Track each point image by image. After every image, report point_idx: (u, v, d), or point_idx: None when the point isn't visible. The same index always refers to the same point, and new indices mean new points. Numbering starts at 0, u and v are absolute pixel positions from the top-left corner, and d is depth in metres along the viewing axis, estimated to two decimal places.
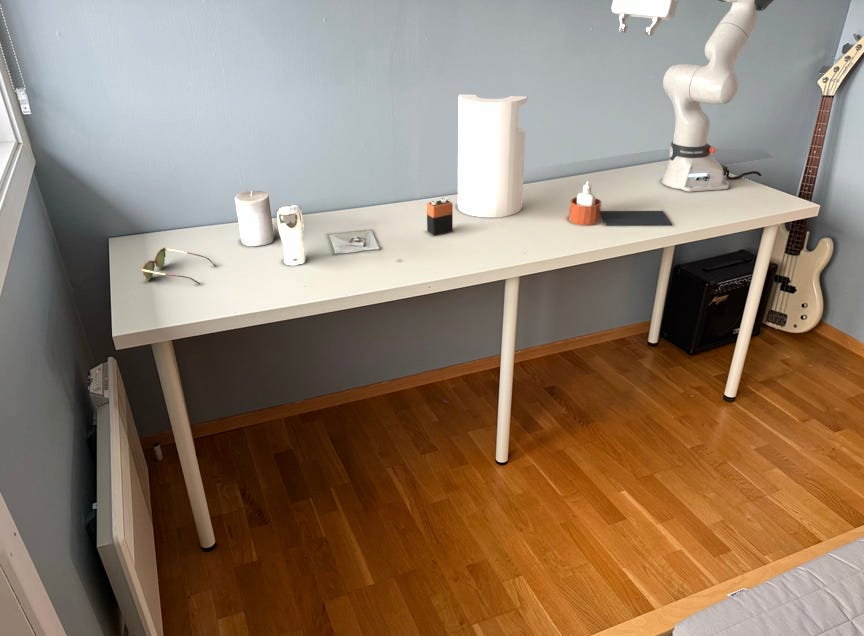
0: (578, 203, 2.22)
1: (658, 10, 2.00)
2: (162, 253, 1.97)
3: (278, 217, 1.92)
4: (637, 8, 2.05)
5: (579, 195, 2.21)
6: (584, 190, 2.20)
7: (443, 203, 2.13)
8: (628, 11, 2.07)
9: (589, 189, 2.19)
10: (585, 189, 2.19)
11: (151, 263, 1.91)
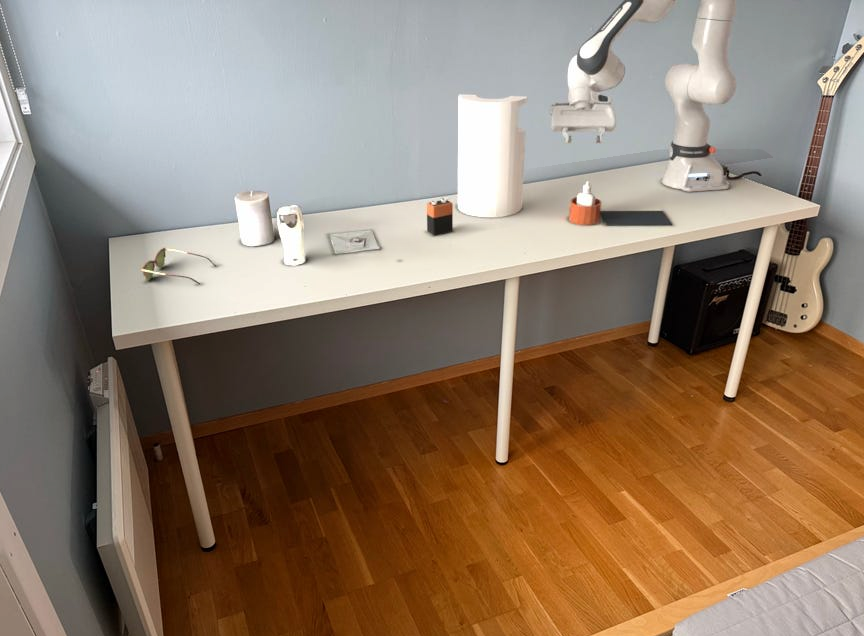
0: (578, 203, 2.22)
1: None
2: (162, 253, 1.97)
3: (278, 217, 1.92)
4: None
5: (579, 195, 2.21)
6: (584, 190, 2.20)
7: (443, 203, 2.13)
8: None
9: (589, 189, 2.19)
10: (585, 189, 2.19)
11: (151, 263, 1.91)
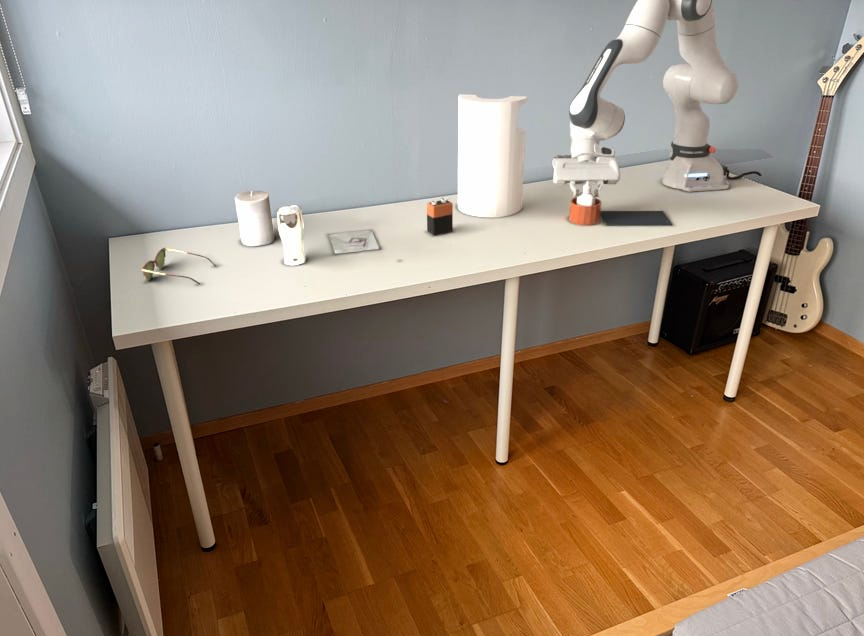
0: (578, 203, 2.22)
1: None
2: (162, 253, 1.97)
3: (278, 217, 1.92)
4: None
5: (579, 195, 2.21)
6: (584, 190, 2.20)
7: (443, 203, 2.13)
8: None
9: (589, 189, 2.19)
10: (585, 189, 2.19)
11: (151, 263, 1.91)
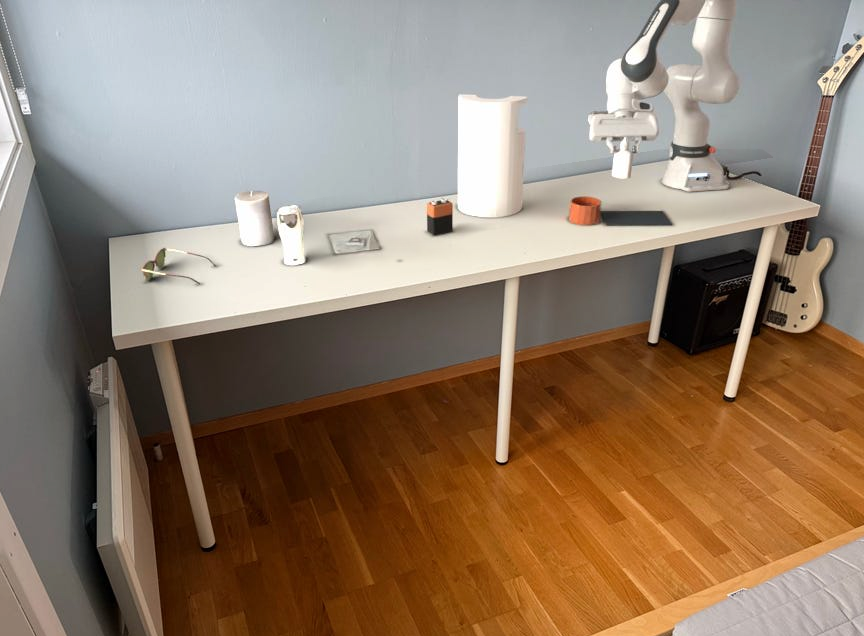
0: (615, 160, 2.16)
1: None
2: (162, 253, 1.97)
3: (278, 217, 1.92)
4: None
5: (616, 152, 2.15)
6: (622, 146, 2.13)
7: (443, 203, 2.13)
8: None
9: (627, 145, 2.13)
10: (623, 145, 2.13)
11: (151, 263, 1.91)
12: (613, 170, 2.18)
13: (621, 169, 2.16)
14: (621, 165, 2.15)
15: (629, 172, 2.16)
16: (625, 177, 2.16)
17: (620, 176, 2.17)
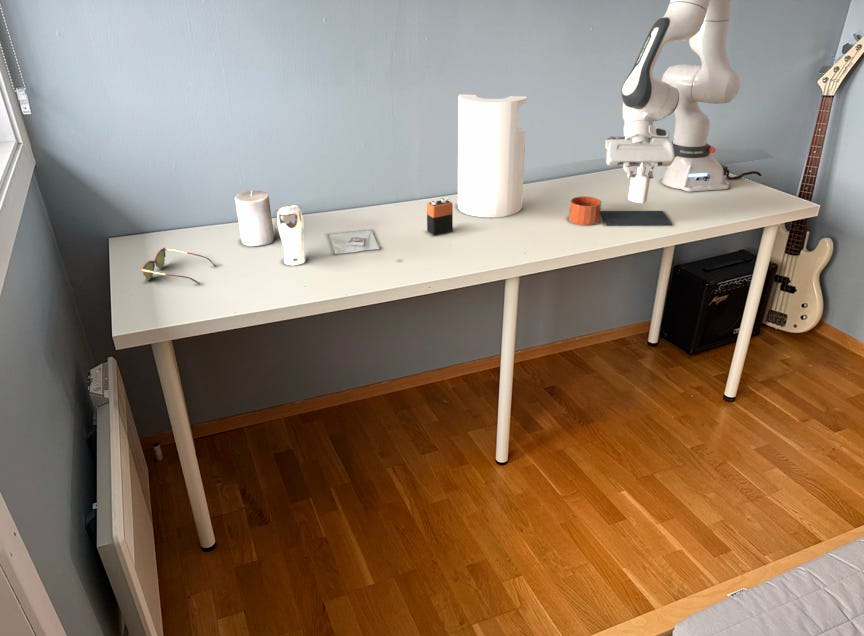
0: (631, 185, 2.20)
1: None
2: (162, 253, 1.97)
3: (278, 217, 1.92)
4: None
5: (633, 177, 2.19)
6: (638, 171, 2.17)
7: (443, 203, 2.13)
8: None
9: (643, 170, 2.17)
10: (639, 170, 2.17)
11: (151, 263, 1.91)
12: (629, 194, 2.22)
13: (637, 193, 2.19)
14: (637, 190, 2.19)
15: (645, 197, 2.20)
16: (641, 201, 2.20)
17: (636, 200, 2.21)
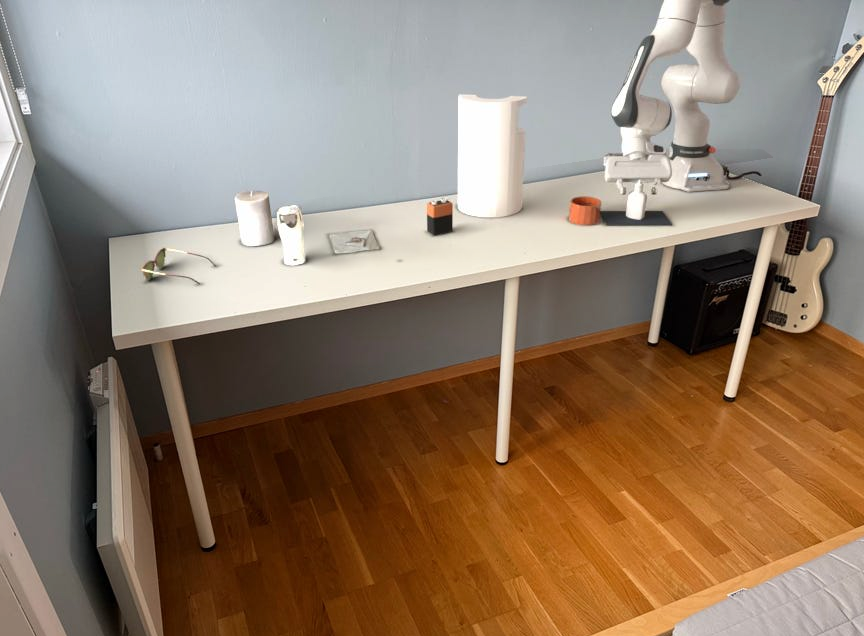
0: (629, 201, 2.23)
1: None
2: (162, 253, 1.97)
3: (278, 217, 1.92)
4: None
5: (630, 193, 2.22)
6: (636, 188, 2.20)
7: (443, 203, 2.13)
8: None
9: (641, 187, 2.19)
10: (637, 187, 2.19)
11: (151, 263, 1.91)
12: (627, 211, 2.25)
13: (635, 210, 2.22)
14: (635, 206, 2.22)
15: (643, 213, 2.22)
16: (639, 218, 2.23)
17: (634, 217, 2.23)
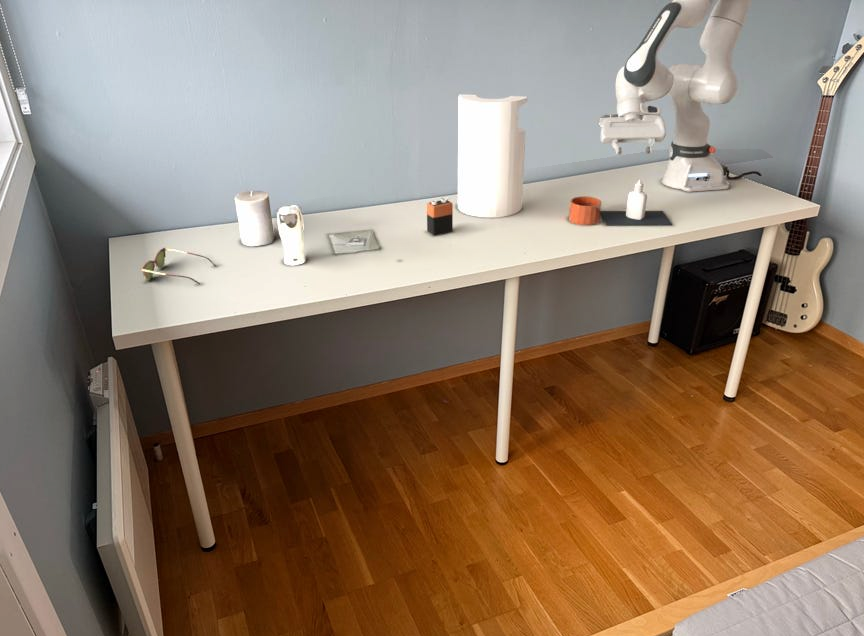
0: (629, 201, 2.23)
1: None
2: (162, 253, 1.97)
3: (278, 217, 1.92)
4: None
5: (630, 193, 2.22)
6: (636, 188, 2.20)
7: (443, 203, 2.13)
8: None
9: (641, 187, 2.19)
10: (637, 187, 2.19)
11: (151, 263, 1.91)
12: (627, 211, 2.25)
13: (635, 210, 2.22)
14: (635, 206, 2.22)
15: (643, 213, 2.22)
16: (639, 218, 2.23)
17: (634, 217, 2.23)
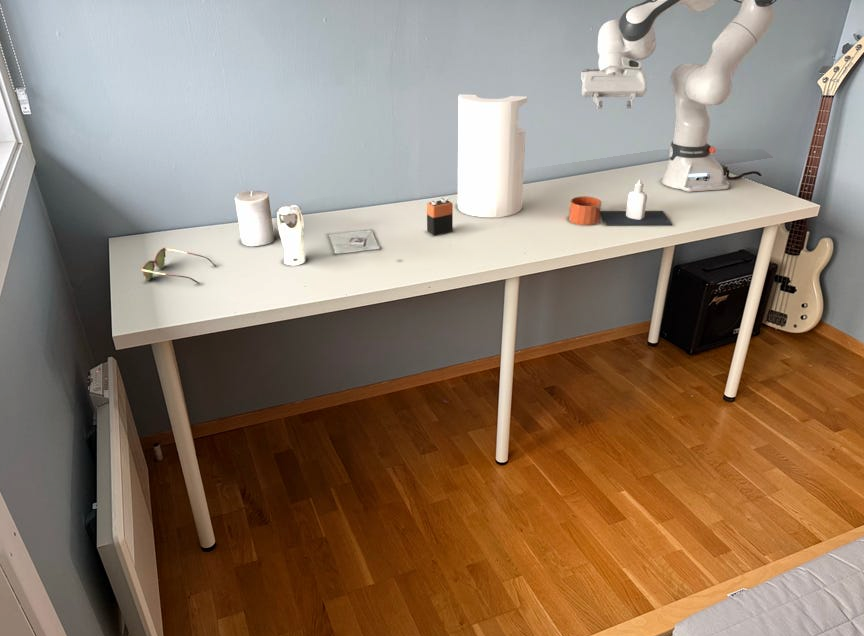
0: (629, 201, 2.23)
1: None
2: (162, 253, 1.97)
3: (278, 217, 1.92)
4: None
5: (630, 193, 2.22)
6: (636, 188, 2.20)
7: (443, 203, 2.13)
8: None
9: (641, 187, 2.19)
10: (637, 187, 2.19)
11: (151, 263, 1.91)
12: (627, 211, 2.25)
13: (635, 210, 2.22)
14: (635, 206, 2.22)
15: (643, 213, 2.22)
16: (639, 218, 2.23)
17: (634, 217, 2.23)
